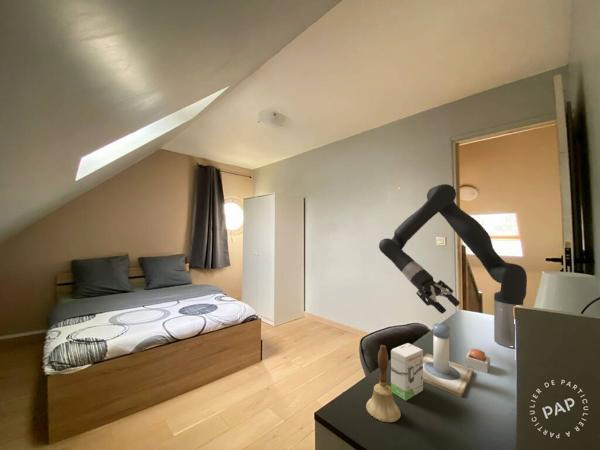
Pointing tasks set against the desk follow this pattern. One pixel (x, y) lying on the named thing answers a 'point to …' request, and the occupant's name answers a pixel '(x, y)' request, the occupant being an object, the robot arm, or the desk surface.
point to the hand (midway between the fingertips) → (451, 308)
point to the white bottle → (441, 348)
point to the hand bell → (383, 394)
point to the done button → (477, 354)
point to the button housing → (477, 363)
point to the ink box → (406, 371)
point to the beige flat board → (447, 376)
